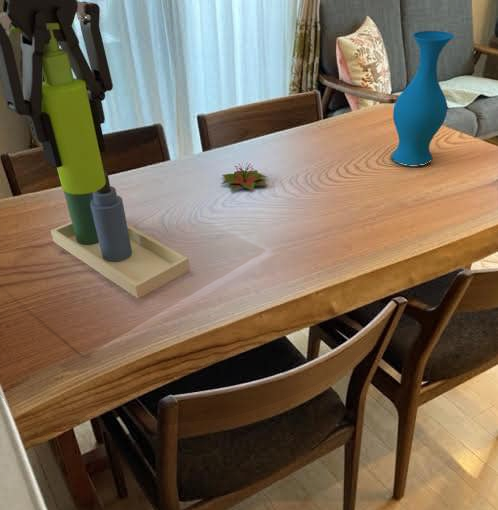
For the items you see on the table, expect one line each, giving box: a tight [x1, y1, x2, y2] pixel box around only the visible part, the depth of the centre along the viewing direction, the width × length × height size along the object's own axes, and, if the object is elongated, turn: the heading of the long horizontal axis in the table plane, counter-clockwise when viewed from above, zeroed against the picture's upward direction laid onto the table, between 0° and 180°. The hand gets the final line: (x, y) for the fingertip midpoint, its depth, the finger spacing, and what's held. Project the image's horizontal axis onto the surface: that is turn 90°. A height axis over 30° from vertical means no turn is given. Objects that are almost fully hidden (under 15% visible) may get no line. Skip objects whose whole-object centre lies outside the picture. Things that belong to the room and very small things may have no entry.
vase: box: [391, 30, 455, 168], centre depth 125 cm, size 12×13×28 cm
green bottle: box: [63, 190, 99, 245], centre depth 102 cm, size 6×6×16 cm
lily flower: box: [220, 162, 269, 192], centre depth 125 cm, size 12×12×5 cm
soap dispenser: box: [10, 22, 106, 194], centre depth 68 cm, size 6×7×20 cm
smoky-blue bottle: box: [90, 171, 132, 262], centre depth 97 cm, size 6×6×16 cm
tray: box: [50, 221, 190, 299], centre depth 101 cm, size 28×12×3 cm, turn 46°
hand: (76, 156), depth 72 cm, fingers closed on soap dispenser, 6 cm apart
